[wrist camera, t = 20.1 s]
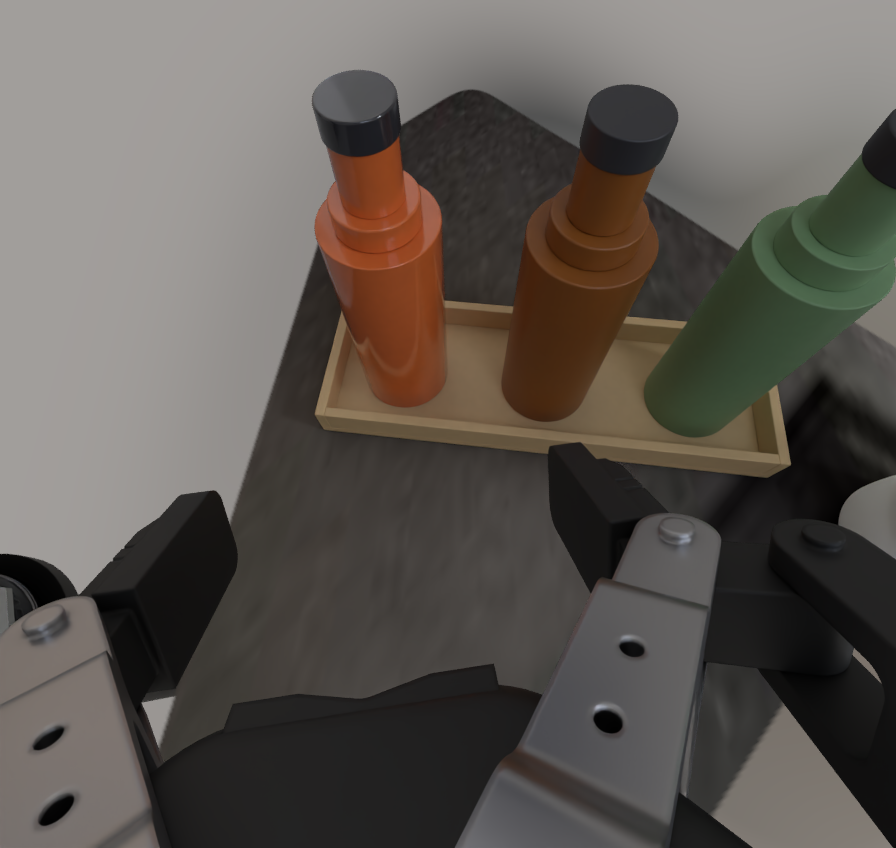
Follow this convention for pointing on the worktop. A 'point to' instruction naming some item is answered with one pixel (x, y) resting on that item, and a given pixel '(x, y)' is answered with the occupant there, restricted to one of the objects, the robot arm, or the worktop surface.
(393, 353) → the terracotta bottle
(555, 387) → the amber bottle
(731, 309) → the sage bottle
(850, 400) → the worktop surface
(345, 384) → the tray
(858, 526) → the water bottle
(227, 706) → the worktop surface
